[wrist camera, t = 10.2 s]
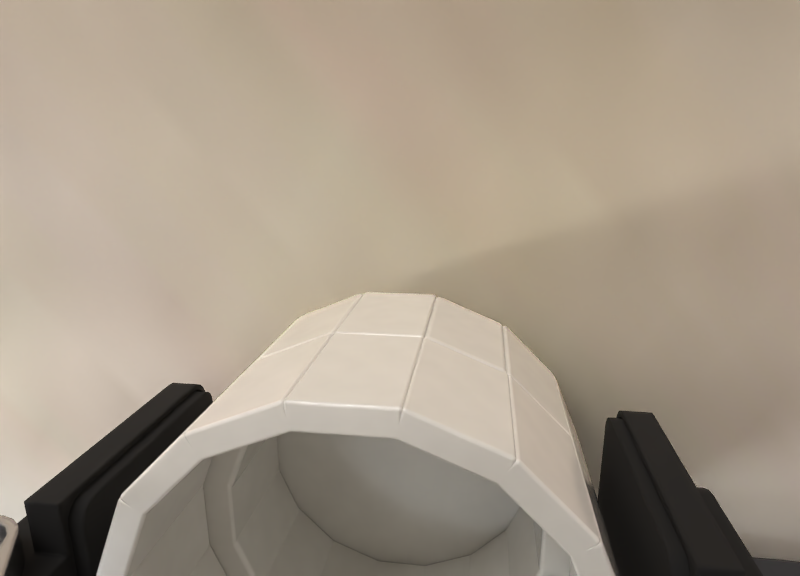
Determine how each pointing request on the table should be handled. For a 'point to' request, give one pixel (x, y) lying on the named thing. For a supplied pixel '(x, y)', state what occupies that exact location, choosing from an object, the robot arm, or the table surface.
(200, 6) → the table surface
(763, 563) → the scale
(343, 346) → the bowl
